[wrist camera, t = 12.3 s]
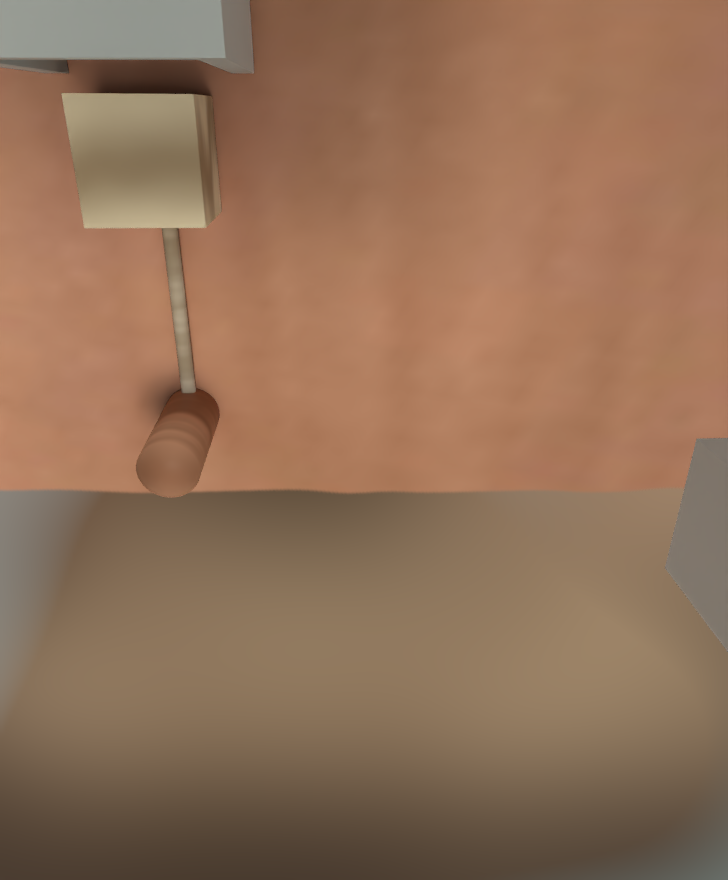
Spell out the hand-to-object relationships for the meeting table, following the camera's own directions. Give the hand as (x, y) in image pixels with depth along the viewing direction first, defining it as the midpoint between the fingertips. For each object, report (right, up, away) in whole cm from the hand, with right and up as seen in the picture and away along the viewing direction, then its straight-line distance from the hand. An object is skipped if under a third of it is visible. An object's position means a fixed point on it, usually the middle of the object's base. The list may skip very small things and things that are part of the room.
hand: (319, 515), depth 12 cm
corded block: (-11, +11, +29) cm, 33 cm away
